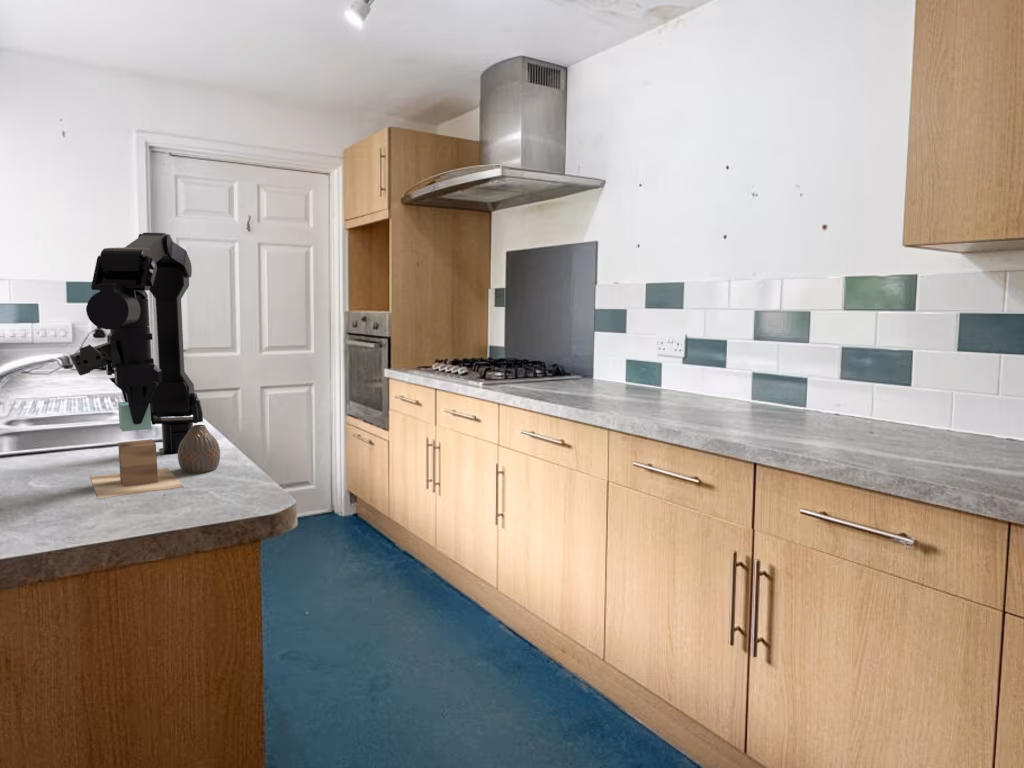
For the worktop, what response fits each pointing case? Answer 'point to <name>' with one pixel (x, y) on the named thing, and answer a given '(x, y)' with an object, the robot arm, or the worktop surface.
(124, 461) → the tower top
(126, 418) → the cube
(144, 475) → the tower base
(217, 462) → the vase
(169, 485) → the beech board
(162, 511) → the worktop surface
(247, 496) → the worktop surface
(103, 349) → the robot arm
